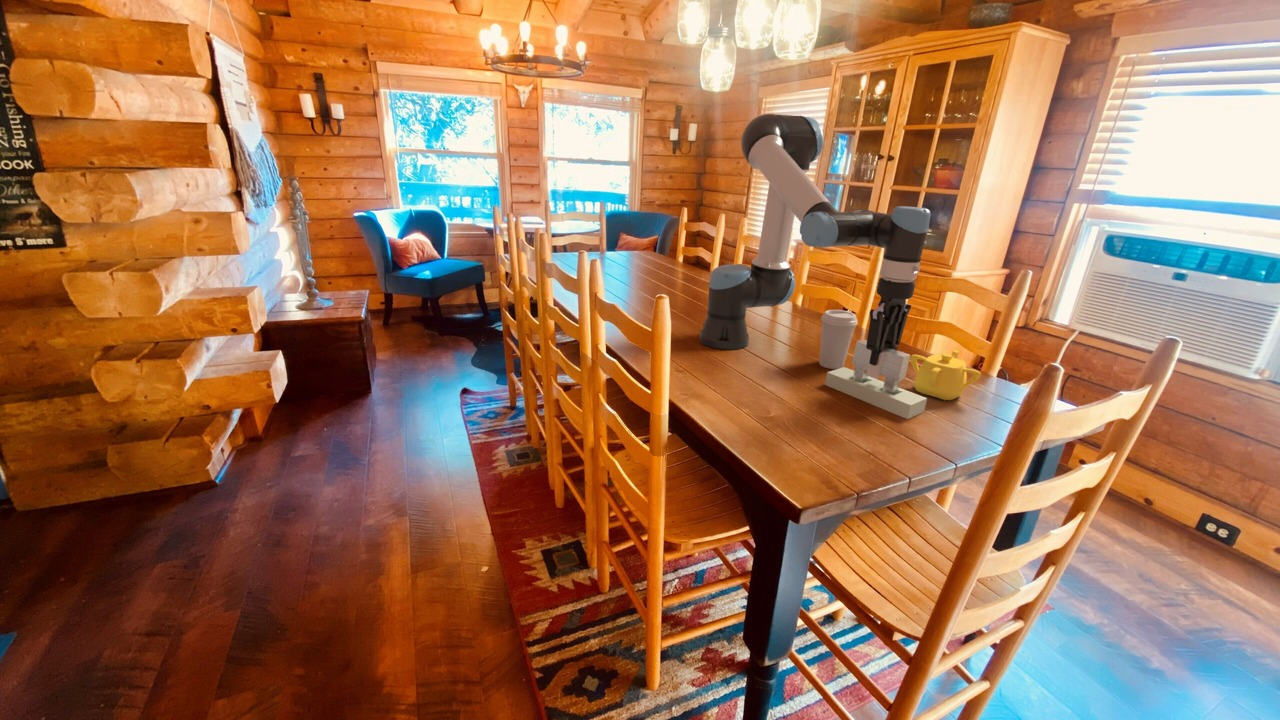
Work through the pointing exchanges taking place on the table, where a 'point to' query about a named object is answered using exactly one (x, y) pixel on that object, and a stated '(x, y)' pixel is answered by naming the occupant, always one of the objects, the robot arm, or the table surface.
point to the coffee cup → (836, 337)
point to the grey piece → (891, 366)
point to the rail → (876, 393)
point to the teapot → (942, 375)
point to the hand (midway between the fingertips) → (876, 375)
